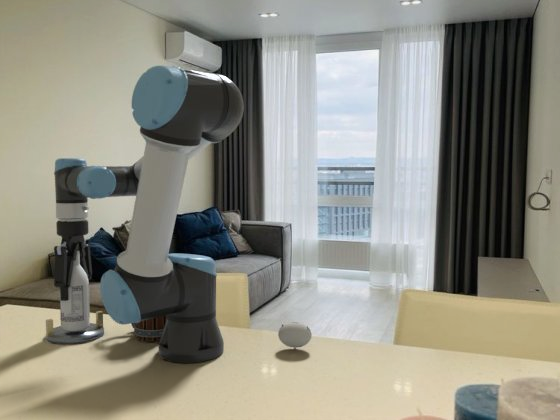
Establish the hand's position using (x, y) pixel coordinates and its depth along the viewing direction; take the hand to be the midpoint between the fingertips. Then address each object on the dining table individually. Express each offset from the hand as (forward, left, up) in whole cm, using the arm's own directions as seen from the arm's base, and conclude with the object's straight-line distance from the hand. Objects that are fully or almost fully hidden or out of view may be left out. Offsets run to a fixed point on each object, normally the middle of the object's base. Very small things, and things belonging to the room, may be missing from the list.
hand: (75, 308), depth 135 cm
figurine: (-57, +2, -7) cm, 57 cm away
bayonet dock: (0, 0, -7) cm, 7 cm away
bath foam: (0, 0, -5) cm, 5 cm away
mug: (-18, -4, -7) cm, 20 cm away
